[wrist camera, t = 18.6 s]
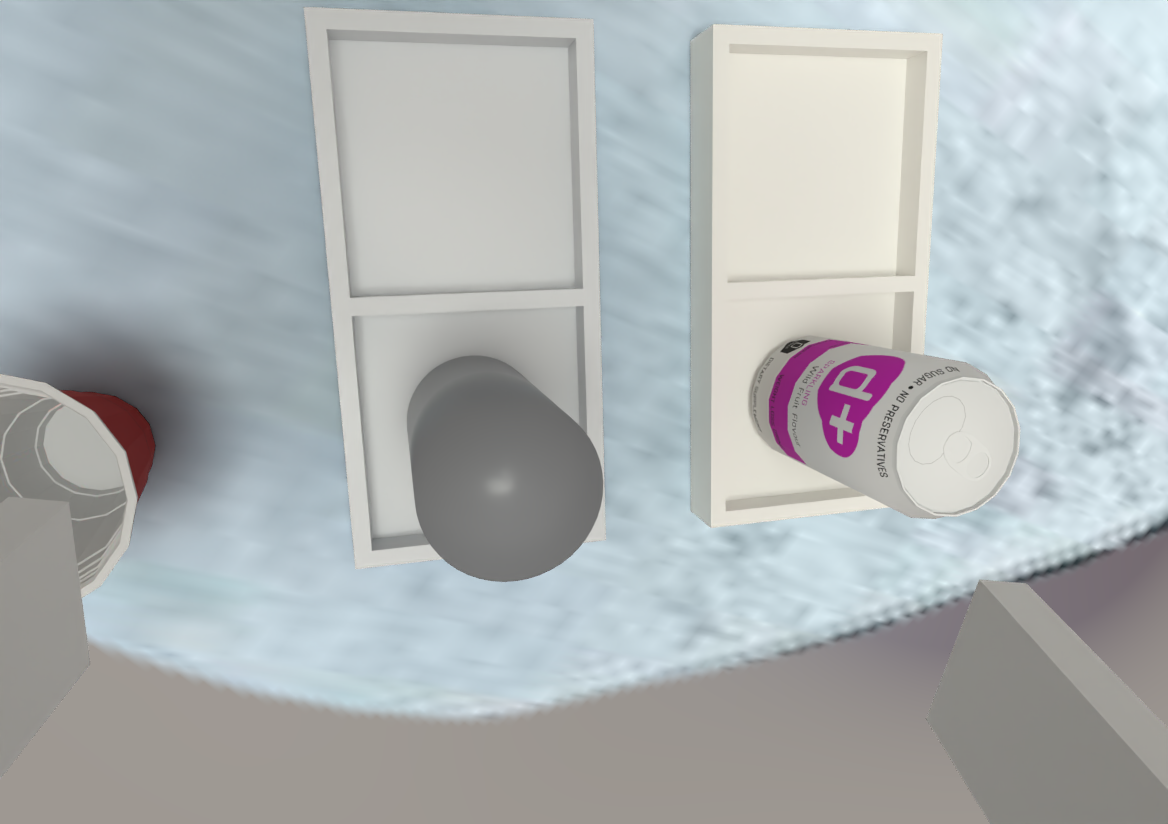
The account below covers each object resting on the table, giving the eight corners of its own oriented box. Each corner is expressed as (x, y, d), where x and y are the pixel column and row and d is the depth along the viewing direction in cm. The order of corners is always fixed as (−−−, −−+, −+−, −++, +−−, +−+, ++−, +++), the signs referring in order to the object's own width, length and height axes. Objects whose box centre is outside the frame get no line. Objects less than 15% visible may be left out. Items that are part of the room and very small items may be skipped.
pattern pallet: (310, 26, 42) (263, -111, 27) (578, 36, 46) (677, -80, 30) (357, 547, 48) (342, 686, 33) (591, 521, 52) (680, 636, 36)
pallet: (690, 40, 47) (713, 24, 44) (906, 48, 51) (942, 33, 47) (690, 511, 53) (710, 527, 50) (884, 489, 57) (914, 504, 53)
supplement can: (722, 412, 51) (853, 472, 37) (797, 310, 51) (956, 329, 36) (808, 478, 53) (961, 558, 39) (879, 380, 53) (1059, 425, 39)
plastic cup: (86, 302, 42) (-27, 317, 31) (242, 439, 46) (193, 498, 34) (-65, 441, 42) (-236, 509, 30) (104, 569, 45) (6, 674, 34)
